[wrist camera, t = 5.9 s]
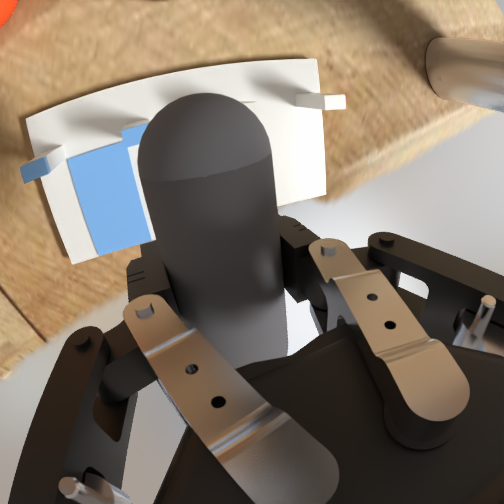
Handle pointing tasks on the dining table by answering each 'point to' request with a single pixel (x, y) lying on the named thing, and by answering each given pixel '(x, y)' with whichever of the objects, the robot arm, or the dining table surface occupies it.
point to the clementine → (6, 10)
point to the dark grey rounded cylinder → (218, 223)
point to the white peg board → (132, 128)
